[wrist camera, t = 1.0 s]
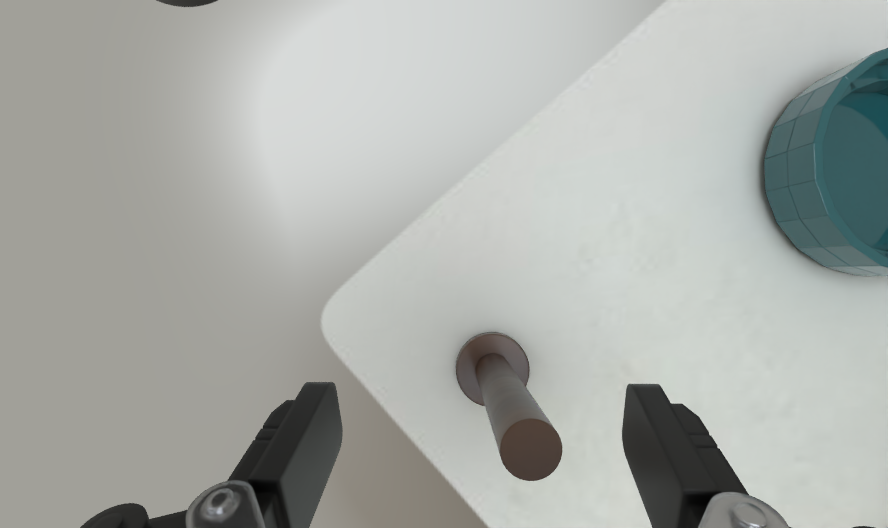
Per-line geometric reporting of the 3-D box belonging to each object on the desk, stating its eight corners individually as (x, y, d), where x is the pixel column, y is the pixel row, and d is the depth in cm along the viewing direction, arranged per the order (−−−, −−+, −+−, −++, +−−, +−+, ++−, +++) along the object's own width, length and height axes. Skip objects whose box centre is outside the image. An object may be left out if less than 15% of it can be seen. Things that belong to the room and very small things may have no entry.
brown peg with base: (445, 346, 33) (447, 411, 18) (512, 322, 33) (570, 366, 18) (470, 413, 33) (492, 534, 18) (537, 389, 33) (614, 489, 18)
